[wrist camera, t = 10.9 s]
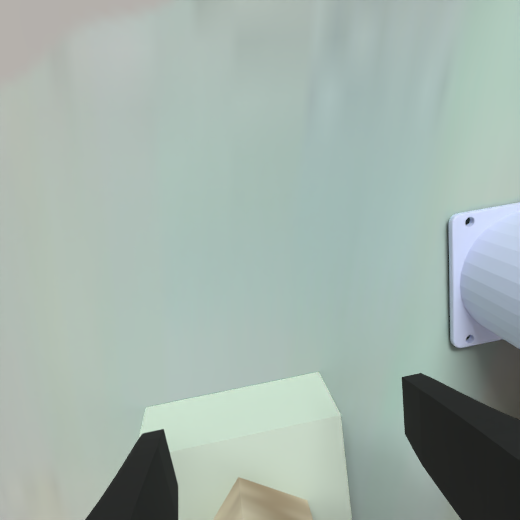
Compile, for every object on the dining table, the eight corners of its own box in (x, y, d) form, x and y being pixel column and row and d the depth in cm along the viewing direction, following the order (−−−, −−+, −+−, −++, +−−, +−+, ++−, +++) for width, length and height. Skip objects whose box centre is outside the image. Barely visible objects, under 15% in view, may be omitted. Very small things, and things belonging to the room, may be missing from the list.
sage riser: (318, 371, 23) (340, 415, 20) (334, 505, 26) (356, 566, 22) (146, 407, 23) (133, 459, 19) (181, 541, 25) (177, 611, 22)
